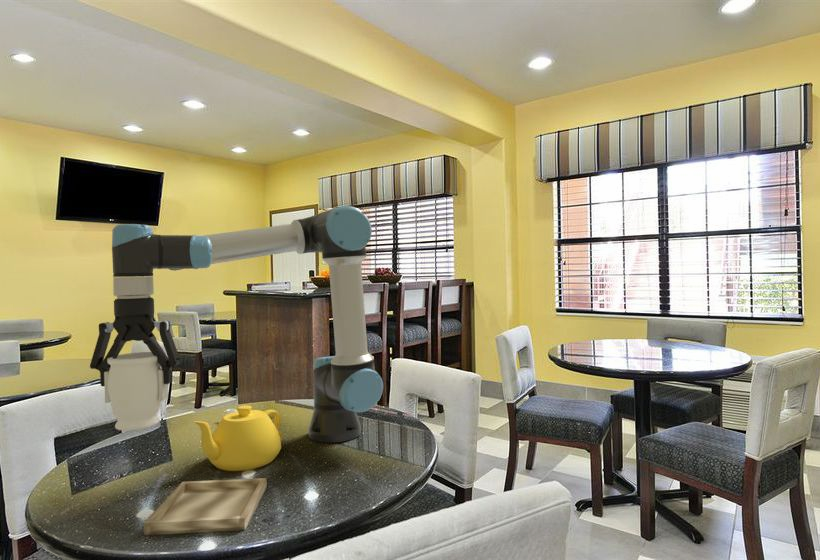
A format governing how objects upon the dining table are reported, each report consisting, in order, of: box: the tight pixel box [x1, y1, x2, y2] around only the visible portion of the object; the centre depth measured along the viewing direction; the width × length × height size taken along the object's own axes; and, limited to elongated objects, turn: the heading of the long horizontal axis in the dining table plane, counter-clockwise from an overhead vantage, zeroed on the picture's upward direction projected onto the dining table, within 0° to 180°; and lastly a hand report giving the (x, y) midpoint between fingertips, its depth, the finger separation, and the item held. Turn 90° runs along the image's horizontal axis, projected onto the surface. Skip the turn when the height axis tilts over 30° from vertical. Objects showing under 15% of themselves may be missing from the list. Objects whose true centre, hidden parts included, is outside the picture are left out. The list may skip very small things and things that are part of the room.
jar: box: [107, 351, 162, 431], centre depth 106 cm, size 11×10×15 cm
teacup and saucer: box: [218, 408, 237, 423], centre depth 160 cm, size 9×8×4 cm
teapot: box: [192, 404, 284, 472], centre depth 125 cm, size 25×18×14 cm
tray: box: [143, 477, 268, 536], centre depth 99 cm, size 18×18×2 cm
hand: (137, 400), depth 106 cm, fingers closed on jar, 10 cm apart
